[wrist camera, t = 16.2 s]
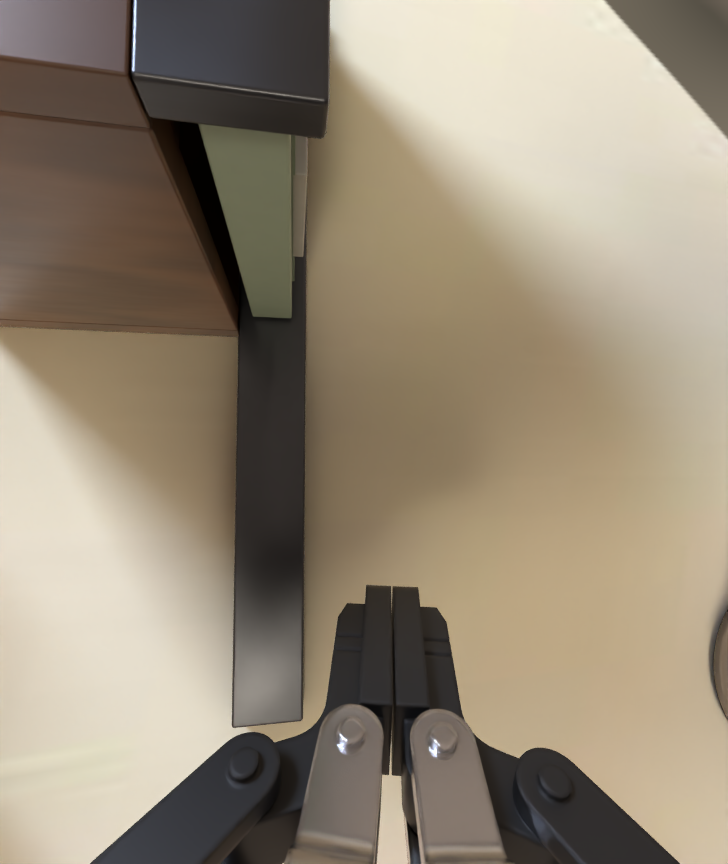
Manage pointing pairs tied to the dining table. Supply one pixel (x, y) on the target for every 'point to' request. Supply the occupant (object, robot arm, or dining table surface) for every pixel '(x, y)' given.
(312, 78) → the track
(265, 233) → the door
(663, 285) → the dining table surface
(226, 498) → the dining table surface
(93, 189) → the box
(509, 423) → the dining table surface
